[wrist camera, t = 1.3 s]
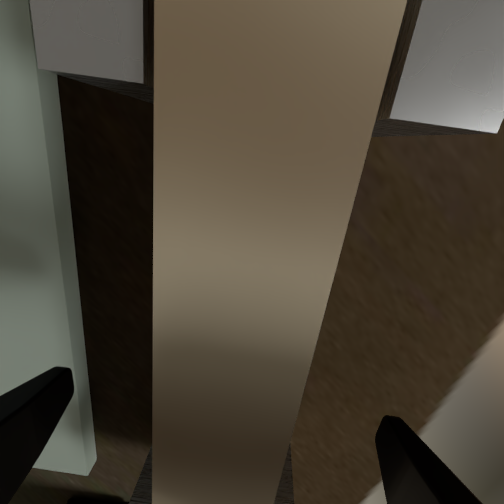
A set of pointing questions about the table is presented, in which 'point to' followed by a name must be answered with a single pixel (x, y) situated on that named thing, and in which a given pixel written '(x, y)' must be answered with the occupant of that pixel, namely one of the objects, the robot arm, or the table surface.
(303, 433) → the table surface
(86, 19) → the steel stands
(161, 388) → the birch rail
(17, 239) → the sage board
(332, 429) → the table surface
